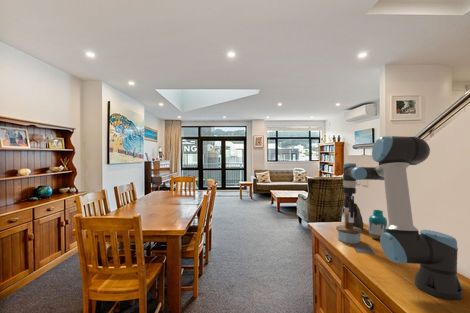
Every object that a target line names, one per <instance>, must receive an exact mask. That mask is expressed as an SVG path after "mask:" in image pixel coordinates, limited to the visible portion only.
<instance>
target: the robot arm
mask: <svg viewBox="0 0 470 313" xmlns="http://www.w3.org/2000/svg"><path fill="white" fill-rule="evenodd" d="M371 149H372V151H371V156H372V160H373V161H374V162H376V163H378V165H377V166H375V167H374V166H372V167H371V166H370V167H369V166H366V167H365V166H357V164H356V163H347V162H345V163H343V170H342V171H343V173H342V174H343V176H342V177H343V179H342V186H343V188H342V193H344V200H343V206H344V214H343V215H344V218H345V212H349V223H354V212H355V205H354V203H355V196H354V195H355V194H356V193H357V188H356V187H357V184H358V182H357V181H361V180H363V181H364V180H366V181H368V180H369V181H370V180H373V181H374V180H375V181H384V182H383V183H384V191H385V198H386V199H385V200H386V201H385V202H386V210H387V218H388V219H387V221H388V224H387V227H386V228H385V230H386V232H385V233H383V234H382V235H381V238H380V240H379V241H380V247H381V249H382V252H383V254H384V255H385V257H386V258H387V259H388V260H389V261H391V262H393V263H396V264H397V263H398V264H404V265H405V264H414V265H415V264H416V265H419V268H418V270H417V272H416V274H415V276H414V285H415V286H416V287H417V288H418V289H420V290H421V291H423V292H424V293H427V294H429V295H432V296H434V297H437V298H440V299H441V298H442V299H445V300H453V301H454V300H462V299H463V297H464V296H463V292H464V291H463V288H462V285H461V283H460V280H459V277H458V251H459V248H458V241H457V239H456V238H455V237H453V236H452V235H449V234H446V233H443V232H440V231H435V230H431V229H421V230H420V231H419V229H418V228H417V227H415V225H414V220H413V214H412V204H411V197H410V189H409V182H408V180H409V179H408V174H407V169H408V167H409V166H417V165H420V164H421V163H423V162H424V161H426V160H427V159H428V157H429V156H430V153H431V148H430V145H429V144H428V143H427V141H426V140H424V139H423V138H421V137H418V136H398V135H397V136H395V135H393V136H392V135H388V136H380V137H378V138H377V139H376V140H375V142H374V143H373V146H372V148H371ZM353 194H354V195H353Z"/></svg>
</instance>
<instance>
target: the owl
mask: <svg viewBox="0 0 470 313" xmlns="http://www.w3.org/2000/svg"><path fill="white" fill-rule="evenodd" d="M354 205H355V212H354V223H353V226H354V227H357V228H360V229H361V230H362V231H363V229H364V221H363V220H364V219H363V216H362V212H361V209H360V208H359V206H358V203H355V202H354Z"/></svg>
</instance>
